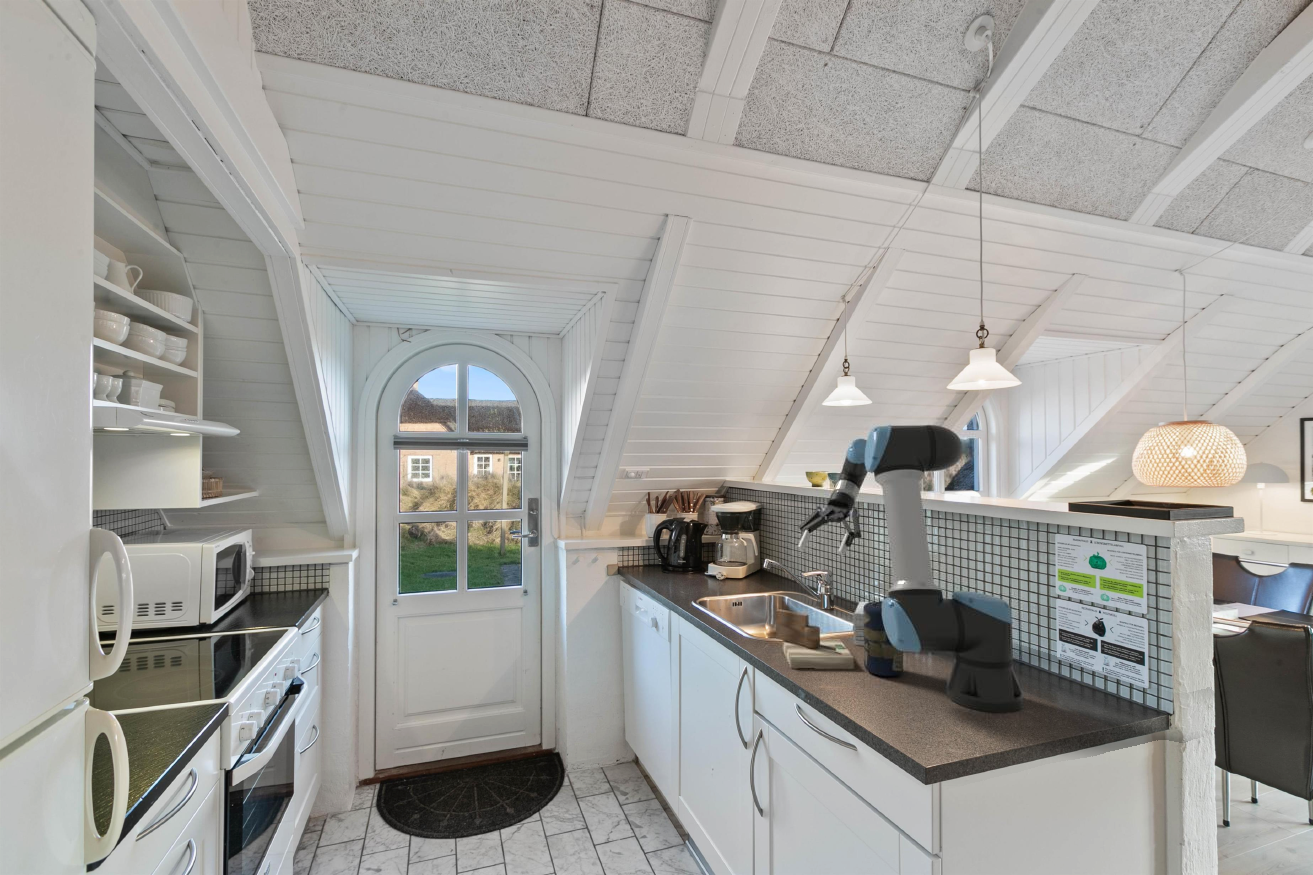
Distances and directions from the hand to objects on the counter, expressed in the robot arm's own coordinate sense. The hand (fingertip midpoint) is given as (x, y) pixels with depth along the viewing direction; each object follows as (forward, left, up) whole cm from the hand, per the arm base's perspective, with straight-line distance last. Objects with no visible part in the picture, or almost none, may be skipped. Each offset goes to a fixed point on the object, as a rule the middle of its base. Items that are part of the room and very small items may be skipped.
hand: (820, 551), depth 186 cm
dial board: (-18, +5, -26) cm, 32 cm away
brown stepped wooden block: (-16, +8, -23) cm, 29 cm away
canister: (-28, -10, -26) cm, 40 cm away
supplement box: (+1, -17, -27) cm, 32 cm away
